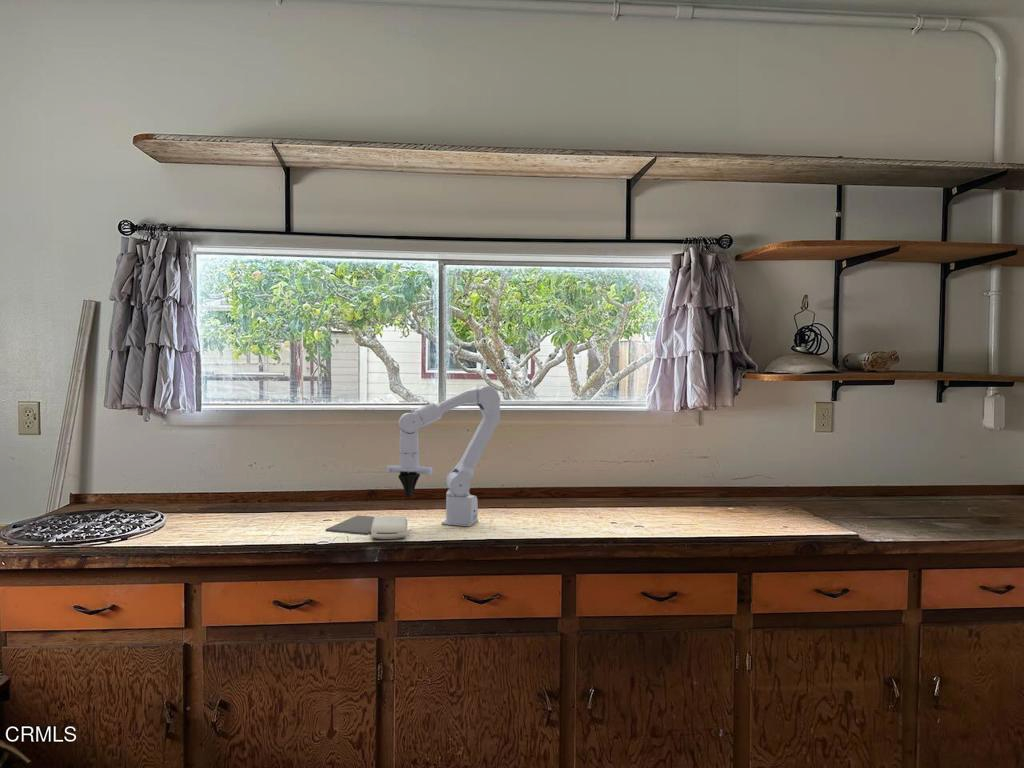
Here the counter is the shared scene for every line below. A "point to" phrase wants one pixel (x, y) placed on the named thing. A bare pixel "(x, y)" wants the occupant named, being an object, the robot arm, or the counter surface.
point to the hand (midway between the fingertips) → (409, 496)
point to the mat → (354, 525)
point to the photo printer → (389, 527)
